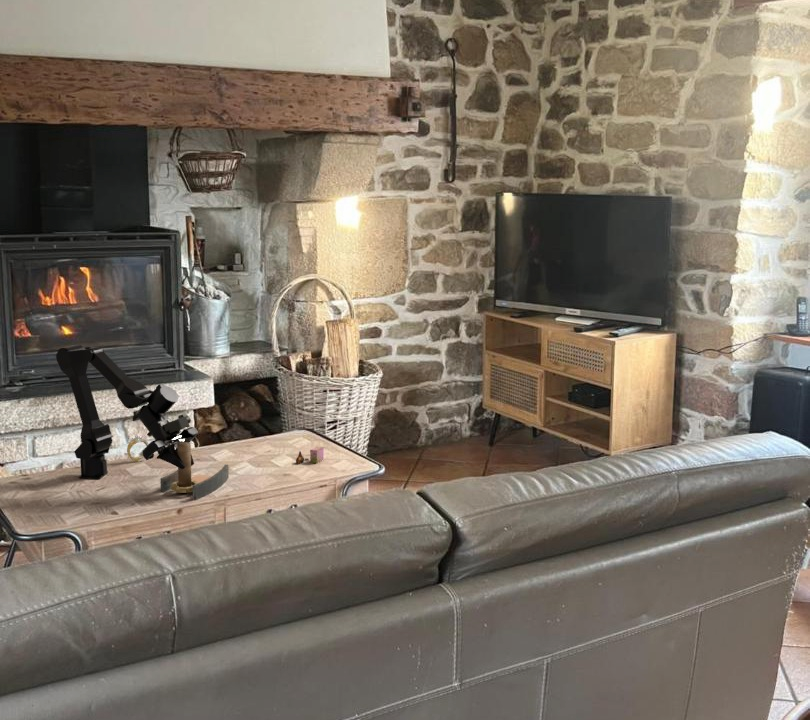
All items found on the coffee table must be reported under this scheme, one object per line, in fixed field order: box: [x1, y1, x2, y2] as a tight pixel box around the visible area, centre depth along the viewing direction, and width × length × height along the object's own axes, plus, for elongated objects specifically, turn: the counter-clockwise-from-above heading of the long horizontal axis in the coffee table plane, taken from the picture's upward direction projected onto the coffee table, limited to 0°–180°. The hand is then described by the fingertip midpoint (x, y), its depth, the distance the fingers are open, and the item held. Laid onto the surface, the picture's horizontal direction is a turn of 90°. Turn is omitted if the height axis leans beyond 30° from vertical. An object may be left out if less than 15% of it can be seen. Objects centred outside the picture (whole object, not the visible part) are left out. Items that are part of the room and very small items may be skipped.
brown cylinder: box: [170, 442, 198, 494], centre depth 272 cm, size 7×7×13 cm
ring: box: [126, 435, 150, 463], centre depth 302 cm, size 7×3×8 cm, turn 118°
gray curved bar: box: [159, 464, 230, 501], centre depth 278 cm, size 16×21×4 cm
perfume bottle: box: [295, 446, 325, 465], centre depth 303 cm, size 12×12×4 cm
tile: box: [191, 474, 213, 483], centre depth 285 cm, size 8×8×1 cm
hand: (188, 466), depth 272 cm, fingers closed on brown cylinder, 4 cm apart
